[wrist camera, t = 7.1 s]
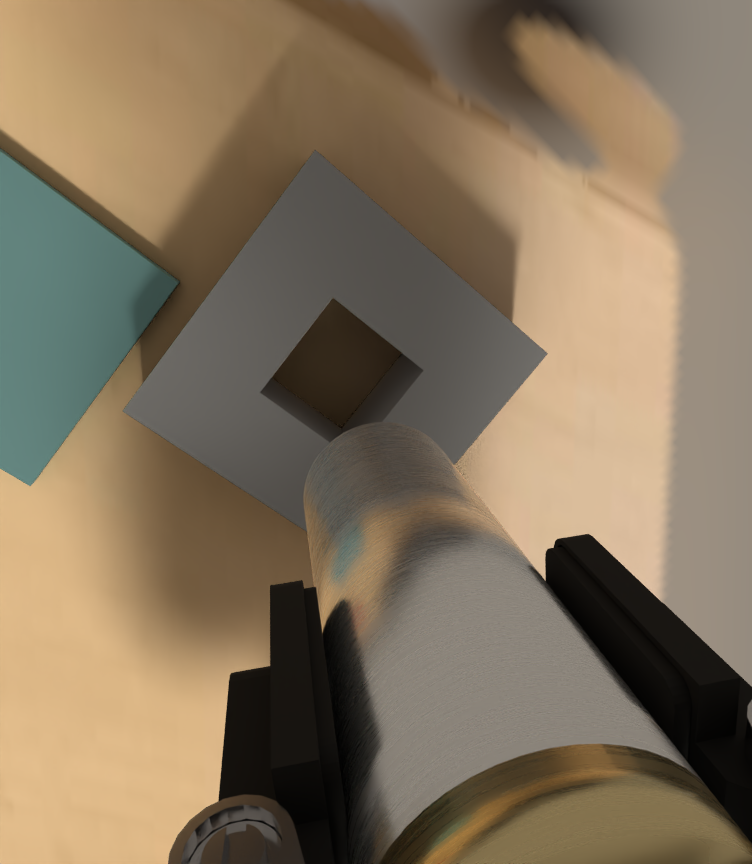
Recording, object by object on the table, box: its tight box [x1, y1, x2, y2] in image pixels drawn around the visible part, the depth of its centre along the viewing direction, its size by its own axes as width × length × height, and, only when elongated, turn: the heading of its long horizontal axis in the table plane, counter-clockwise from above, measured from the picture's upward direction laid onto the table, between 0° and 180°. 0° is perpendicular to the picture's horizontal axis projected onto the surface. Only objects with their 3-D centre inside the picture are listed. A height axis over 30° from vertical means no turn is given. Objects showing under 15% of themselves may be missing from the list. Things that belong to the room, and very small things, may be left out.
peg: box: [303, 422, 752, 864], centre depth 11 cm, size 4×4×12 cm
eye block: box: [123, 150, 548, 532], centre depth 33 cm, size 14×14×5 cm
